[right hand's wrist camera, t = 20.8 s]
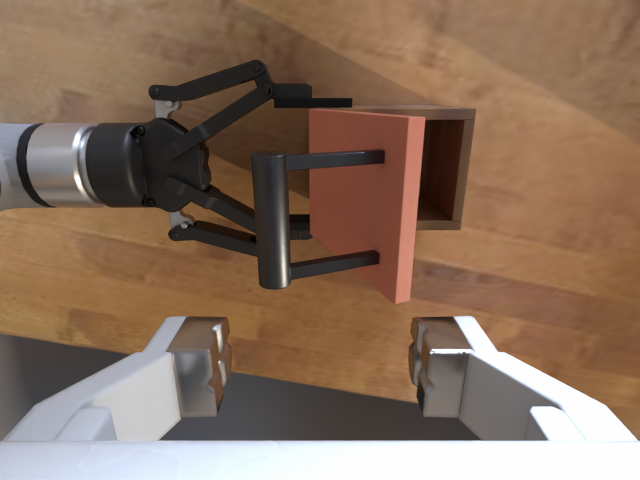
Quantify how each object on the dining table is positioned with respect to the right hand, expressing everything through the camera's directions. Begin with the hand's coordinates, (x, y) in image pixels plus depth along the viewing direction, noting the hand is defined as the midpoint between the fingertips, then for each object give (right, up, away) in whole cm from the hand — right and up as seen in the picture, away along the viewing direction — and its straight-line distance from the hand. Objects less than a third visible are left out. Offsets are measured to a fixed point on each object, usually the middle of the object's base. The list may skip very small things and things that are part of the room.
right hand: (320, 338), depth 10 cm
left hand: (+3, +9, +26) cm, 28 cm away
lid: (+3, +6, +16) cm, 18 cm away
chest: (+6, +12, +32) cm, 34 cm away
